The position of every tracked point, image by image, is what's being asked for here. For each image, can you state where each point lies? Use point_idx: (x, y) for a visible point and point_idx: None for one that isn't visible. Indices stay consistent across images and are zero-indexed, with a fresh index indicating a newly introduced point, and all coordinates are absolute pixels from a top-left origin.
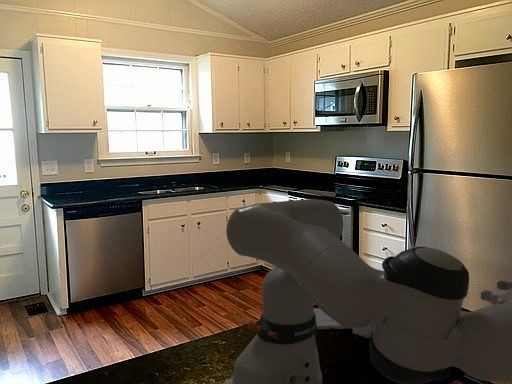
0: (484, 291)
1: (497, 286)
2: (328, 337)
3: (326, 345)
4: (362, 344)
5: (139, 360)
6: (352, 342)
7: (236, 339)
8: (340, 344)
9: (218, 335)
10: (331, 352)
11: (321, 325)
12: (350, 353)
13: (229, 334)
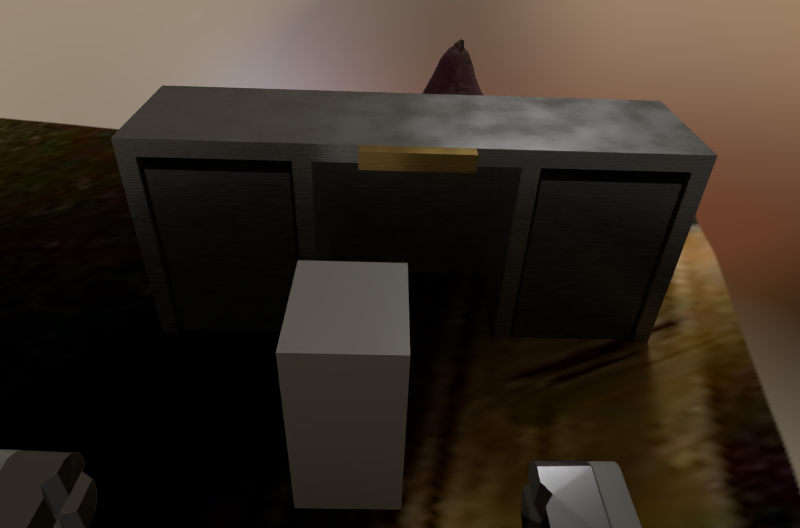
0: (4, 465)
1: (523, 494)
2: (124, 235)
3: (59, 252)
4: (119, 306)
5: None
6: (120, 283)
7: (6, 143)
8: (86, 270)
9: (15, 122)
10: (9, 276)
11: None
12: (23, 310)
13: (30, 129)
